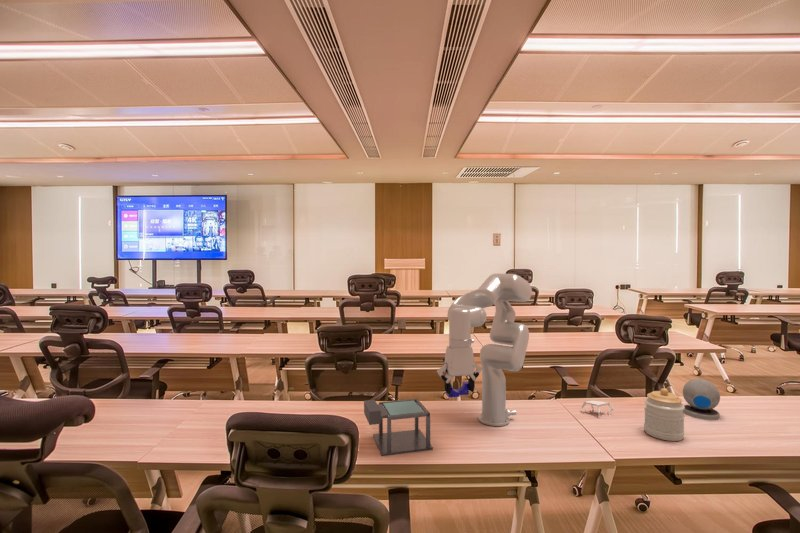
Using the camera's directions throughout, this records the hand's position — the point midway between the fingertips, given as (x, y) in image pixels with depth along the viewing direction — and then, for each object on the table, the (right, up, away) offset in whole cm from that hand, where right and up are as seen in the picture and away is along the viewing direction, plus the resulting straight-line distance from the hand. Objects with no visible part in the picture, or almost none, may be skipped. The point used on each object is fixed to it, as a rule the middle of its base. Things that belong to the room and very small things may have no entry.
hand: (459, 391), depth 144 cm
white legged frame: (+65, -20, +31) cm, 75 cm away
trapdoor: (-24, -10, +3) cm, 26 cm away
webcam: (+109, -19, +31) cm, 115 cm away
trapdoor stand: (-20, -20, +4) cm, 29 cm away
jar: (+80, -20, +11) cm, 83 cm away
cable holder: (0, -2, +2) cm, 3 cm away
